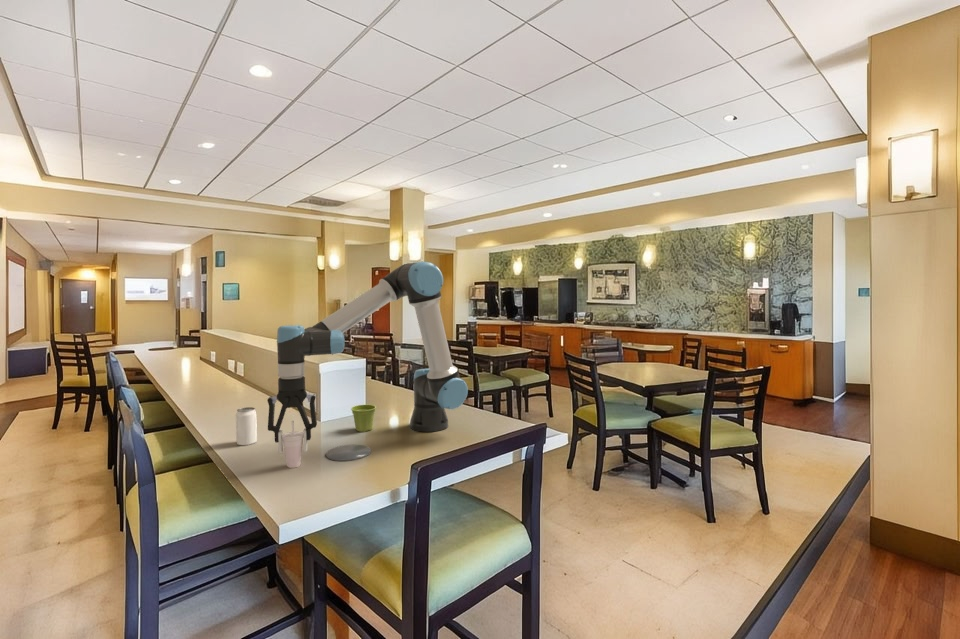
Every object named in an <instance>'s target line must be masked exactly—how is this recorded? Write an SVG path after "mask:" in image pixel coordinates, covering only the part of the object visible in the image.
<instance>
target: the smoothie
mask: <svg viewBox="0 0 960 639" xmlns="http://www.w3.org/2000/svg"><path fill="white" fill-rule="evenodd" d="M294 424H295V421H294V420H292V421H291V432H286V433H283V435H282V440H283V451H284V455H285V461H286V467H287V468H289V469H295V468H298V467H300V466H301V462H302V453H303V445H304V435H303V431H295V425H294Z"/></svg>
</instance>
